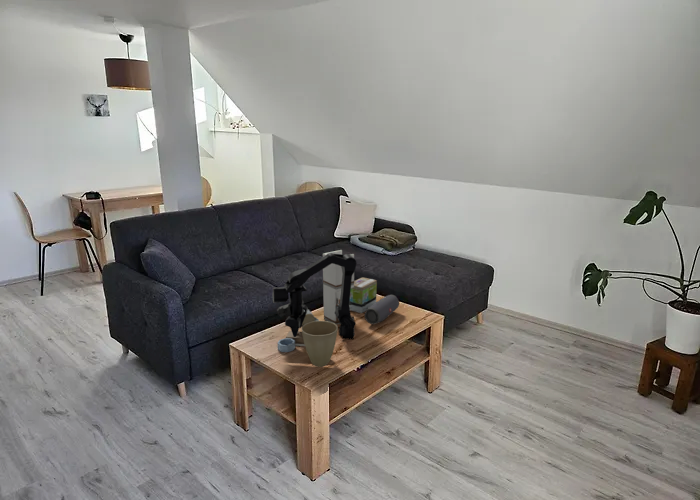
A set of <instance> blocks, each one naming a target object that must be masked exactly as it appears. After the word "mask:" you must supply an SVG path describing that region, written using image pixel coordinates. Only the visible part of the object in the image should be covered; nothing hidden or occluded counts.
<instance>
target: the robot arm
mask: <svg viewBox="0 0 700 500" xmlns="http://www.w3.org/2000/svg"><path fill="white" fill-rule="evenodd" d="M327 253H328V252H327ZM350 254H351V253H349V254H348V253H345V254H343V253H342V254H333V253H328V254H327V255H326V256H324V257H323V256H322V257H321V258H319V259H318V260H316V261H315V262H313V263H311V264H310V265H307V266H306V267H304V268H302V269H297V270H295V271H293V272H290V273H289V274H288V279H287V280H286V282H285V284H283V285H284V286H281V287H276V286H275V287H273V288H272V294H271V295H272V302H273V304H277V303H287V302H288V300H289V303H288V304H284V305H281V306H279V307H277V309H276V312H277V315H278V316H279V317H283V316H285V315H288V317H286V319H285V320H284V325H285V327H288V328H290V331H292V333H293V336H294V337H296V336H297V333H298V331H299V330H300V329H302V327H303V325H302V324H303V321H304V319H305V316H306V313H307V311H308V310H309V309H308V306H307V304H305V303H304V300H303V292H307V289H308V288H307V287H306V286H304V284H305V283H306V282H308V279H310V278H311V277H312V276H314V275H316V274H317V273H319V272H320V271H323V269H324V268H325V267H327V266H329V265H330V264H336V265H339V266H341V268H342V273H343V276H342V286H341V297H340V303H339V305H338V306H335V309H336V310H335V315H336V317H337V319H338V320H339V322H340V323H341V324H339V327H338V328H339V329H338V335H339V336H340V337H341V339H342V340H352V341H353V340H354V338H355V335H356V333H355V327H356V325H357V324H356V321H355V319H354V320H353V319H352V317H351V315H352V313H351V310H350V307H349V301H350V291H351V281H352V275H353V273H354V274H355V271H356V267H357V260H356V259H355V257H354V258H353V257H352V256H351V255H350ZM304 310H305V312H304Z"/></svg>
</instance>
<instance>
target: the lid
mask: <svg viewBox="0 0 700 500" xmlns="http://www.w3.org/2000/svg"><path fill="white" fill-rule="evenodd" d="M285 338H290V339H293V340H294V341H295V344H304V340H303V334H302V331H299V330H298V333H297V336H296V337H294V336H293V333H292V331H291V330H289V331H288V332H287V335H286V336H285Z"/></svg>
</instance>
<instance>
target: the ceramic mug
mask: <svg viewBox="0 0 700 500" xmlns="http://www.w3.org/2000/svg"><path fill="white" fill-rule="evenodd" d="M304 312H305V310H304ZM313 321H320V320H319V318H317V317H316V316H314V314H313V313H312V312H311V310H310V309H308V311H307V313H306V316H305V319H304V321H303V324H302V326H303V325H305V324H307V323H309V322H313Z"/></svg>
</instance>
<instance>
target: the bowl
mask: <svg viewBox="0 0 700 500" xmlns="http://www.w3.org/2000/svg"><path fill="white" fill-rule="evenodd" d="M295 349H296V346H295V341H294V340H293V339H290V338H286V337H284V338H282V339H279V340H278V341H277V350H278V351H279V352H281V353H289V352H292V351H295Z"/></svg>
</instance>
